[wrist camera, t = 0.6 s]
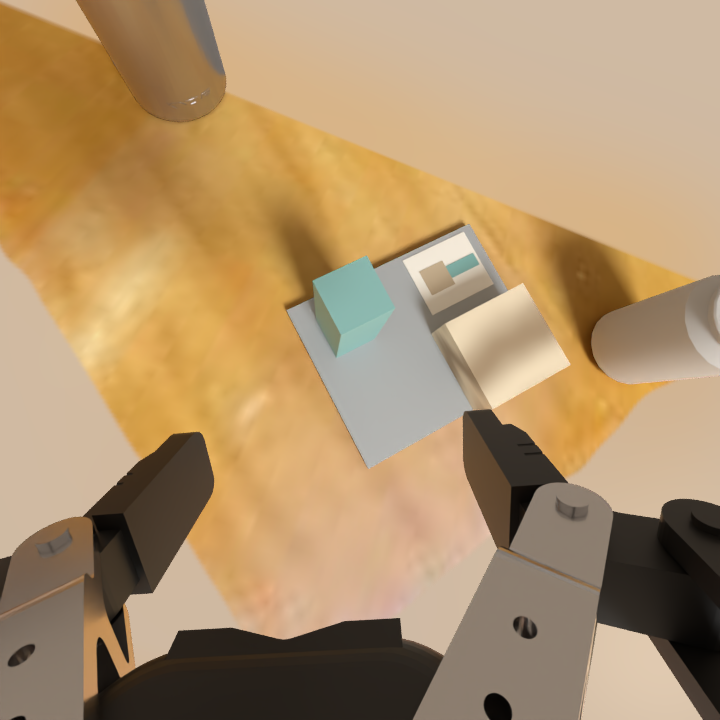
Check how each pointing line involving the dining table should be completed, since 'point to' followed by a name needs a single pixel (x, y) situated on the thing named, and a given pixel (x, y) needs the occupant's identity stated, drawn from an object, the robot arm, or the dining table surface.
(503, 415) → the dining table surface
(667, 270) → the dining table surface
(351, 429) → the mat
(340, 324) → the pillar
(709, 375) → the can
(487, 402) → the base block
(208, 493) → the robot arm
